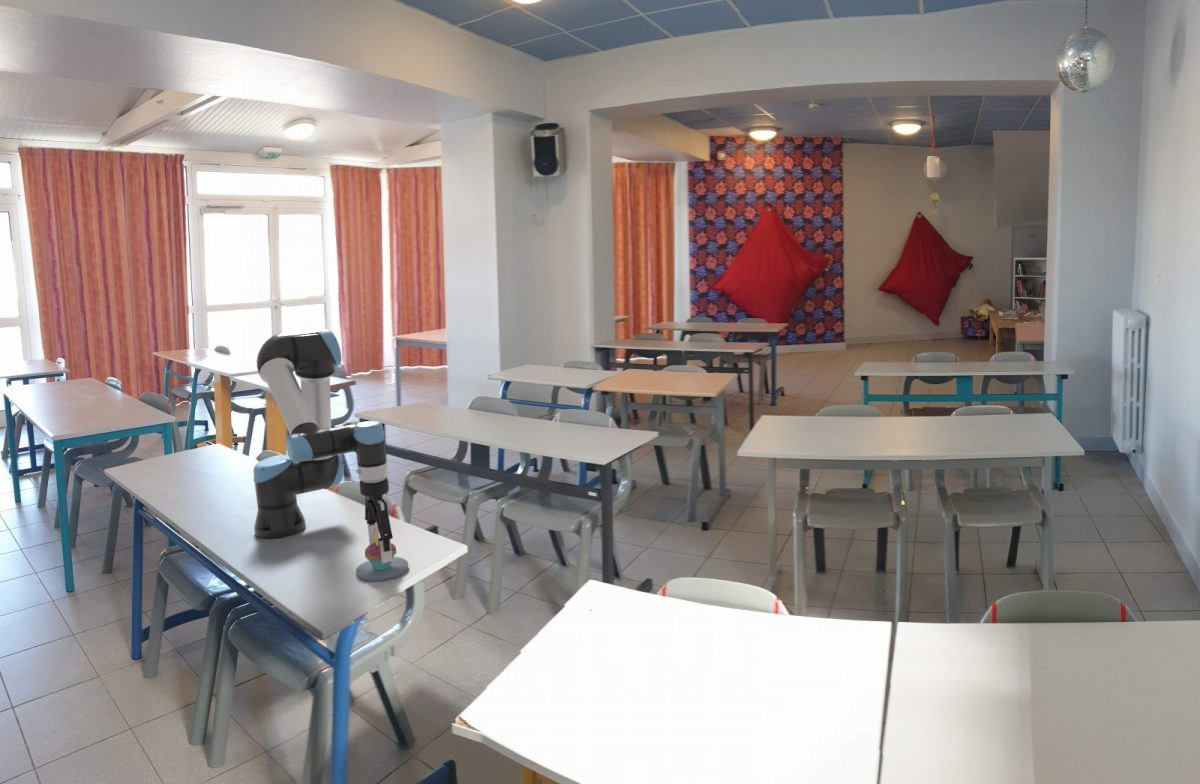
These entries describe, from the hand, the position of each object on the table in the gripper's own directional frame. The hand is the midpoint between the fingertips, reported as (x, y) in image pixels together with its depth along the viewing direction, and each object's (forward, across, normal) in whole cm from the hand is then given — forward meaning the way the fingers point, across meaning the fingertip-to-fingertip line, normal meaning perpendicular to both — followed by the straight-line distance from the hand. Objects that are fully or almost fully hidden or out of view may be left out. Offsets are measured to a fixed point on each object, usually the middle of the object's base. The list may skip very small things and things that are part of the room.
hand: (380, 554), depth 220 cm
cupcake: (+4, 0, 0) cm, 4 cm away
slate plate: (+5, 0, 0) cm, 5 cm away
